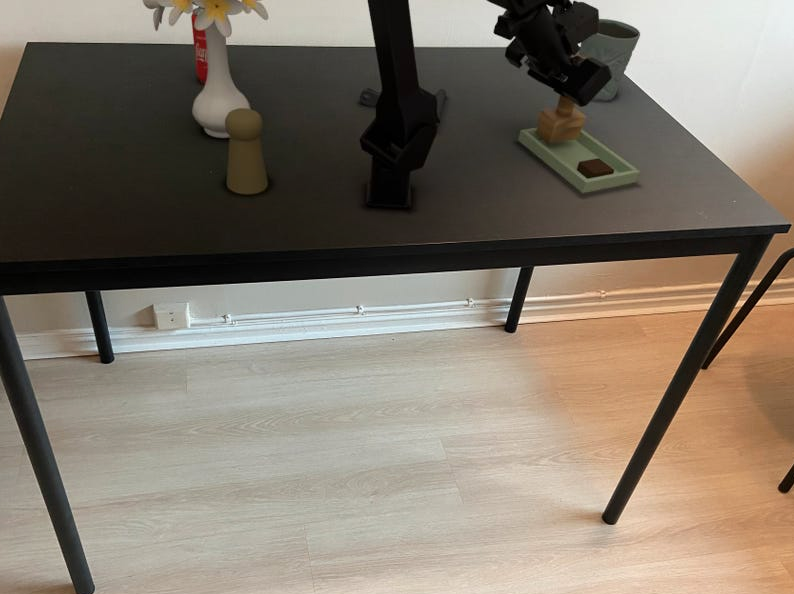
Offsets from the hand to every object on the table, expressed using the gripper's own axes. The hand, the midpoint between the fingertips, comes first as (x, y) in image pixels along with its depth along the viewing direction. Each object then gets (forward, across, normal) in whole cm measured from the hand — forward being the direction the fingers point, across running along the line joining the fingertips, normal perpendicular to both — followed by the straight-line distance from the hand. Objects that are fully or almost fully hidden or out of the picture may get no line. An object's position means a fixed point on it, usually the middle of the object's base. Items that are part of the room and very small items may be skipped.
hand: (574, 96), depth 114 cm
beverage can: (-26, +46, +39) cm, 65 cm away
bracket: (-6, +23, +19) cm, 31 cm away
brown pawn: (-31, +8, +44) cm, 55 cm away
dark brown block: (+4, -10, +7) cm, 13 cm away
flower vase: (-30, +26, +43) cm, 58 cm away
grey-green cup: (+22, +16, -9) cm, 28 cm away
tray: (+5, -6, +7) cm, 11 cm away
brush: (+4, 0, +6) cm, 7 cm away
